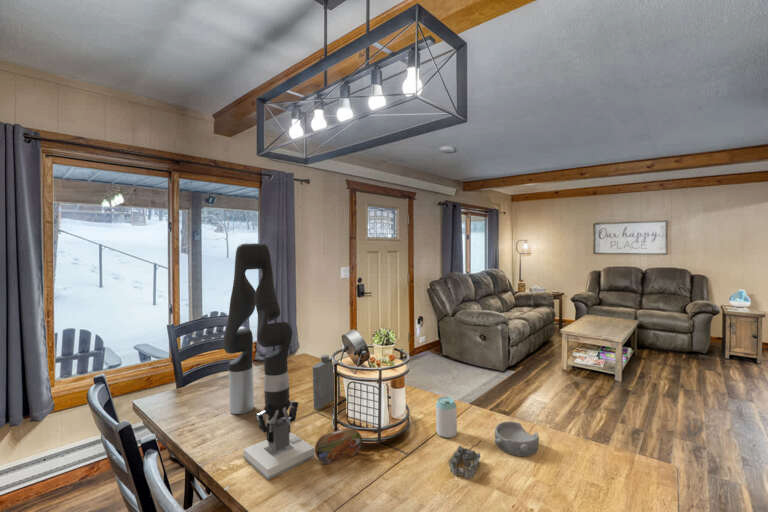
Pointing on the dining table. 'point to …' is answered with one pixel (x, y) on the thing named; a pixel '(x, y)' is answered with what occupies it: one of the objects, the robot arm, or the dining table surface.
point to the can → (446, 417)
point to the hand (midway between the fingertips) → (278, 438)
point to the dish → (515, 439)
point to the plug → (280, 435)
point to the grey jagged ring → (464, 462)
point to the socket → (278, 456)
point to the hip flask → (323, 382)
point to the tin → (338, 445)
